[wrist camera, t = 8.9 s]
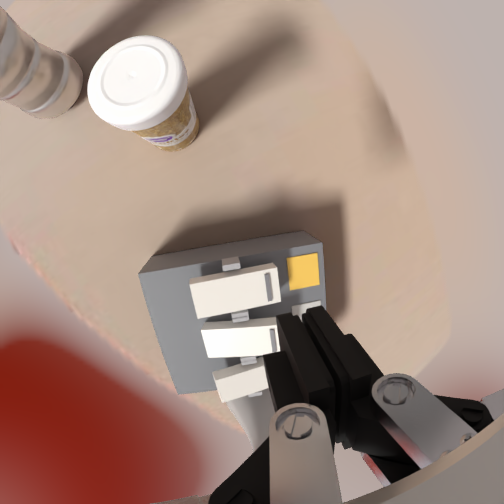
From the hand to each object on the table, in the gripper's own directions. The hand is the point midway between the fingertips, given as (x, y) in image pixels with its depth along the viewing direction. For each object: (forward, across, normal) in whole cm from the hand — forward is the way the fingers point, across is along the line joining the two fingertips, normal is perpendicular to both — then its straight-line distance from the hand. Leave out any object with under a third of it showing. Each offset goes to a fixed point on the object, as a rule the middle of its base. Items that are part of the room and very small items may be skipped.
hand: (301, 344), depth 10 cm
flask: (+16, +2, +18) cm, 24 cm away
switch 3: (+10, +2, +10) cm, 14 cm away
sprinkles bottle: (+17, +5, -11) cm, 21 cm away
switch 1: (+10, +2, +2) cm, 10 cm away
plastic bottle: (+17, +16, -18) cm, 30 cm away
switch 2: (+10, +2, +6) cm, 12 cm away
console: (+16, +2, +6) cm, 18 cm away
